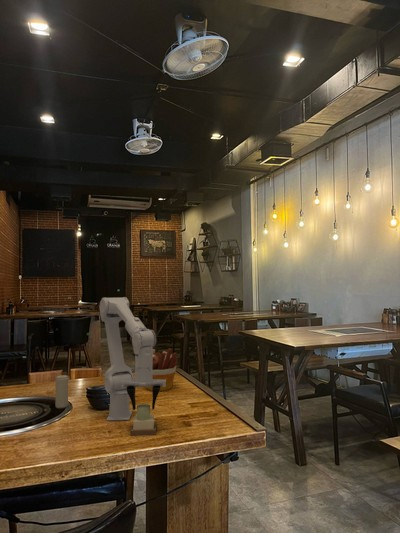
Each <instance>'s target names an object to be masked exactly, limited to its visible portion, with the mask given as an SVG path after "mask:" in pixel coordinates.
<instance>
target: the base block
mask: <svg viewBox="0 0 400 533" xmlns="http://www.w3.org/2000/svg"><path fill="white" fill-rule="evenodd" d="M157 430H158V421H154V429H139V430H133V424H132V426H131V429H130V437H141V436H142V437H145V436H146V437H150V436H156V435H157Z"/></svg>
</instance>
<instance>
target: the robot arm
mask: <svg viewBox="0 0 400 533" xmlns="http://www.w3.org/2000/svg"><path fill="white" fill-rule="evenodd" d="M98 307H99V314H100V319H101V320H100V321H101V322H104V326H105V333H106V334H105V335H106V340H107V348H108V353H109V361H110V367H109V368H108V369H107V370H106V371H105V372H104V383H103V384H104V388H105V389H104V390H105V391H106V392H107V394H108V393H109V394H110V404H109V409H108V410H109V413H108V416H107V418H106V421H130V418H131V416H132V413H133V411H135V410H136V409H137V404H136V388H137V387H138V388H143V387H144V388H147V387H152V386H153V389H152V391H151V392H152V405H151V410H153V411H154V410H155V405H156V401H157V398H158V396H159V393H160V392H161V391H160V387H161V386H162V387H166V380H160V379H152V365H153V349H154V347H155V346H156V343H157V338H156V337H157V336H156V333H155V331H154V330H153V329H149V328H147V327H146V326H145V325H144V323H143V322H142V320H141V319H140V318H139V317H137V316H134V315H133V312H132V310H131V309H130V301H129V299H128V298H127V297H126V296H123V297H102V298H101V300H100V301H99V306H98ZM121 321H123V322H124V323H125V324H124V328H125V330H126V331H127V333H128V335H129V336H130V337H131V338H132V339H131V344H132V348H133V354H135V355H134V359H135V360H134V364H135V365H134V367H135V368H134V369H135V370H134V374H133V370H132V368H131V367H130V366H128V365H127V364H126V363H125V357H124V350H123V345H122V338H121V332H120V327H119V326H120V325H119V323H120V322H121ZM159 391H160V392H159ZM130 402H131V406H132V410H133V411H132V410H130Z"/></svg>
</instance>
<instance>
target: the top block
mask: <svg viewBox="0 0 400 533" xmlns="http://www.w3.org/2000/svg"><path fill="white" fill-rule="evenodd" d="M154 422H155V414H150V419H148V420H137V414H136V415H134V417H133V421H132V425H133V430H139V429H154Z"/></svg>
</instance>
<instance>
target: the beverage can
mask: <svg viewBox="0 0 400 533" xmlns="http://www.w3.org/2000/svg"><path fill="white" fill-rule="evenodd" d="M54 399H55V408H56V409H64V408H67V407H68V405H69V375H66V374H63V375H57V376H56V377H55V398H54Z"/></svg>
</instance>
